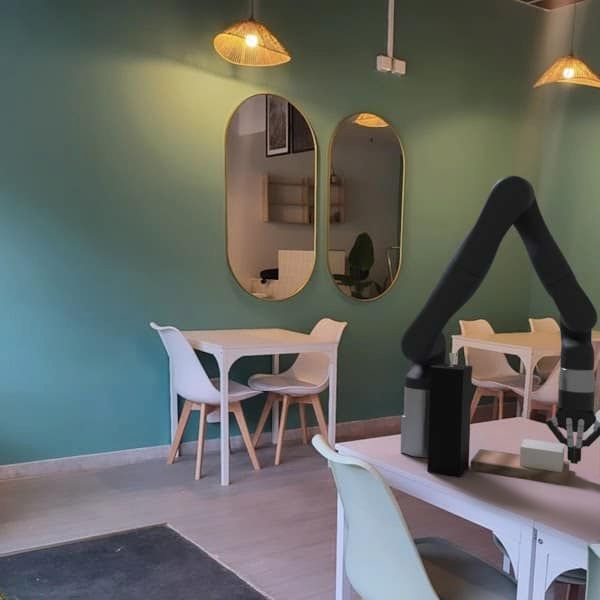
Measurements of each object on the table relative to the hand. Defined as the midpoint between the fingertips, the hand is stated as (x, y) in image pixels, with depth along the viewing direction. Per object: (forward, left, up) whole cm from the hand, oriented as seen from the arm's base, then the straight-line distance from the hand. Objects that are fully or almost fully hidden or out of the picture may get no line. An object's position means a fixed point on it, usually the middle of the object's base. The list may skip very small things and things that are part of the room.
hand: (574, 462), depth 137 cm
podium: (-12, 0, -4) cm, 12 cm away
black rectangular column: (-27, -10, -4) cm, 29 cm away
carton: (-7, 0, -2) cm, 7 cm away
